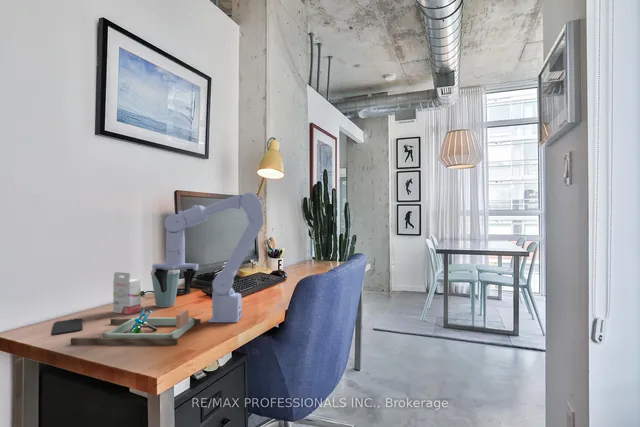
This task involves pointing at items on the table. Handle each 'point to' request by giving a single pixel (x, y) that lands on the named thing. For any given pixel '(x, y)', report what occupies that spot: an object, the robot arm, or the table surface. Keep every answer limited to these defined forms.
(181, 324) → the open rectangular frame
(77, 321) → the phone
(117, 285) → the ink cartridge box
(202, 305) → the table surface
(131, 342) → the guide rails
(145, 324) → the stick construction toy
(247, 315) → the table surface
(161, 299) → the disposable coffee cup
